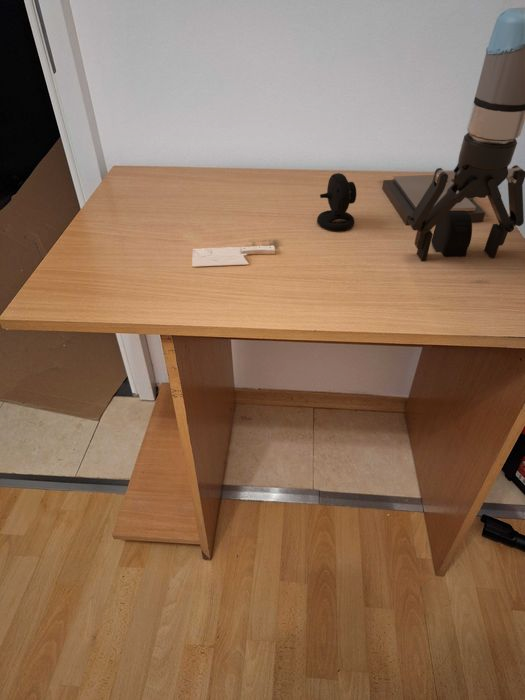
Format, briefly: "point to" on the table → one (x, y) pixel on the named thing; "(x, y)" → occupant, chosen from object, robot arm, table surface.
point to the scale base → (406, 208)
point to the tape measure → (453, 234)
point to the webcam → (338, 203)
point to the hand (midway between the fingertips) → (453, 262)
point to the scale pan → (419, 185)
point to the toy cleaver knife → (227, 255)
